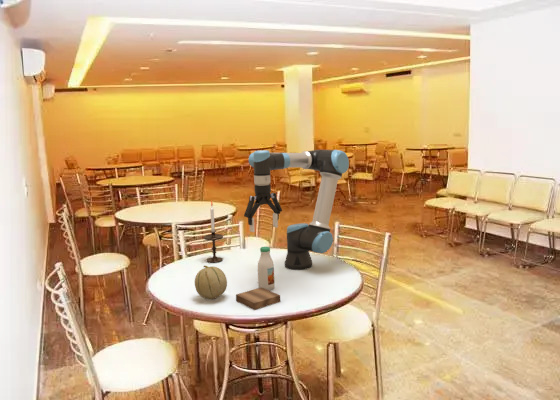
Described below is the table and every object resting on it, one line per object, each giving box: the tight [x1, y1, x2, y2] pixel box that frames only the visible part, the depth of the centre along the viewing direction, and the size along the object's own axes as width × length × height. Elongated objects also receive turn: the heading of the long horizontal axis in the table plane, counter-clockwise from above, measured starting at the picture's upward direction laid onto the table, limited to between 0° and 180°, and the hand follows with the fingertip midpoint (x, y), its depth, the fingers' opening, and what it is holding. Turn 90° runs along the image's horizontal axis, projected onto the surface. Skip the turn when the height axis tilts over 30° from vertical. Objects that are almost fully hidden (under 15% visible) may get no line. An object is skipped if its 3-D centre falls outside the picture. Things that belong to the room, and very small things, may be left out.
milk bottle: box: [257, 246, 275, 291], centre depth 233 cm, size 8×8×20 cm
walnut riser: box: [235, 287, 281, 311], centre depth 218 cm, size 14×14×3 cm
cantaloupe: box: [194, 265, 228, 300], centre depth 223 cm, size 15×15×15 cm
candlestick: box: [203, 200, 224, 264], centre depth 280 cm, size 11×11×35 cm
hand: (264, 229), depth 230 cm, fingers open, 13 cm apart
